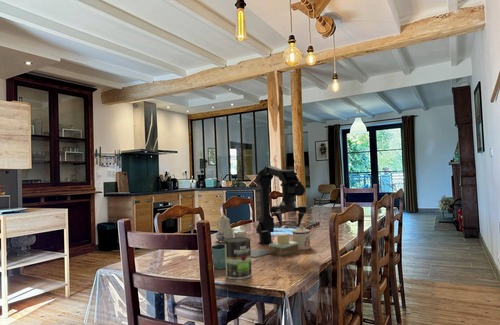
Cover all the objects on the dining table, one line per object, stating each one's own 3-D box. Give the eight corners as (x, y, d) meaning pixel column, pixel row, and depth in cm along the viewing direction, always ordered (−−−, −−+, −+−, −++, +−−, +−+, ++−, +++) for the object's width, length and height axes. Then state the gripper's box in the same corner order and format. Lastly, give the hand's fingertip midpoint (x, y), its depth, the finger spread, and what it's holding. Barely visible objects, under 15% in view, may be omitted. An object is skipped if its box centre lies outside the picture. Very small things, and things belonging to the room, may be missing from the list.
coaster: (238, 254, 166) (238, 253, 166) (255, 250, 174) (255, 248, 174) (255, 258, 157) (255, 256, 157) (272, 253, 166) (272, 251, 166)
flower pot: (206, 268, 144) (205, 247, 144) (222, 263, 150) (221, 243, 151) (219, 271, 138) (218, 249, 138) (235, 266, 144) (234, 245, 144)
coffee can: (256, 276, 129) (254, 239, 130) (232, 281, 124) (230, 243, 125) (244, 270, 138) (243, 235, 139) (221, 274, 133) (220, 239, 134)
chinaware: (252, 244, 198) (253, 215, 199) (228, 245, 188) (230, 215, 190) (228, 238, 221) (229, 212, 222) (205, 239, 211) (207, 212, 213)
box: (269, 254, 163) (269, 246, 164) (284, 250, 171) (283, 242, 171) (283, 256, 157) (283, 248, 157) (298, 252, 165) (297, 244, 165)
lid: (269, 247, 164) (268, 235, 164) (283, 243, 171) (283, 232, 171) (283, 249, 157) (282, 237, 157) (297, 245, 165) (297, 233, 165)
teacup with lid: (308, 250, 167) (306, 227, 168) (290, 249, 171) (289, 226, 171) (314, 245, 178) (313, 223, 178) (297, 244, 182) (296, 223, 182)
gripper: (265, 196, 163) (266, 228, 163) (302, 196, 155) (303, 230, 155) (273, 195, 173) (274, 225, 173) (308, 194, 166) (310, 226, 165)
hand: (290, 226), depth 166 cm, fingers open, 9 cm apart
